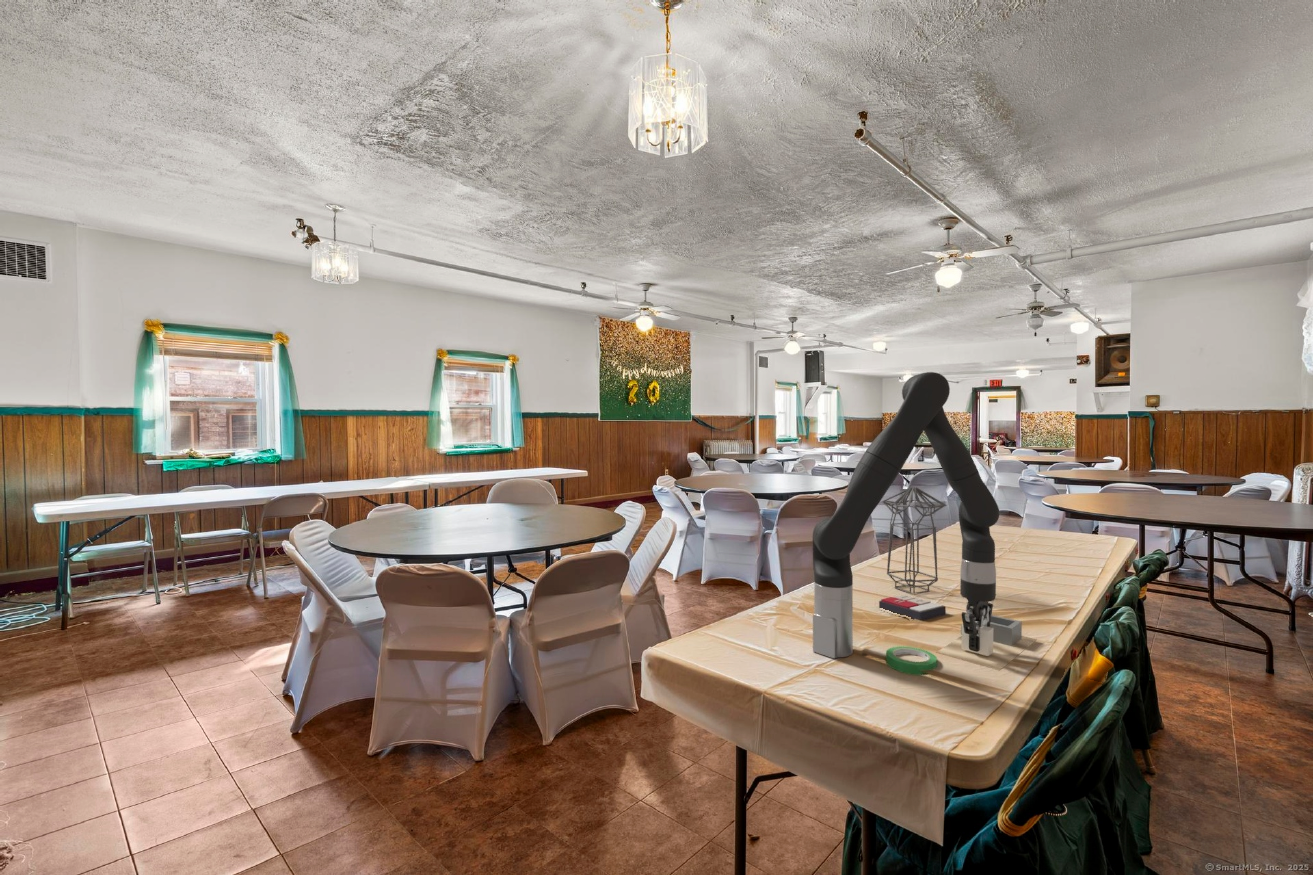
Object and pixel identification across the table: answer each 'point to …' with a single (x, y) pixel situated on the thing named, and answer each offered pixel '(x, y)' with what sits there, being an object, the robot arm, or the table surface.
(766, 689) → the table surface
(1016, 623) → the end holder
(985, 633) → the white block
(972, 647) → the robot arm
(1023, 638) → the beige mat
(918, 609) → the calculator
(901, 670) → the tape roll
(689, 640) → the table surface
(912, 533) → the geometric lantern
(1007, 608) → the table surface
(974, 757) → the table surface
